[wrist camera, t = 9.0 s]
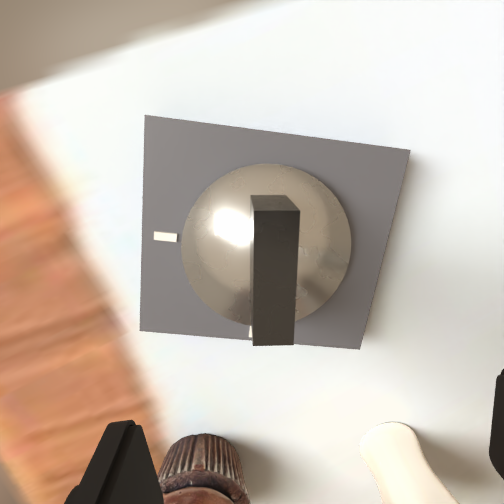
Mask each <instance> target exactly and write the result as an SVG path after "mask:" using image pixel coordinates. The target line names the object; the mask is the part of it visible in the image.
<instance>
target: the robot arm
mask: <svg viewBox="0 0 504 504" xmlns="http://www.w3.org/2000/svg"><path fill="white" fill-rule="evenodd" d="M489 456H490V460H491V462H492V464H493V466H494V468H495V469H496V471H497V472H498V473H499V474H500V476H501V477H502V478H503V480H504V369H503V370H502V372H501V375H498V377H497V379H496V388H495V398H494V408H493V418H492V427H491V437H490V447H489ZM64 504H164V498H163V494H162V491H161V487H160V484H159V481H158V478H157V474H156V471H155V468H154V465H153V461H152V458H151V455H150V452H149V448H148V445H147V442H146V439H145V435H144V432H143V429H142V427H141V425H136V424H135V422H134V421H133V420H127V421H119V422H112V423H110V424H108V426H107V427H106V429H105V431H104V433H103V436H102V438H101V440H100V442H99V444H98V446H97V448H96V450H95V452H94V455H93V457H92V459H91V461H90V463H89V465H88V467H87V469H86V471H85V474H84V476H83V478H82V480H81V482H80V484H79V485H77V486H76V487H75V488H74V489H72V491H71V492H70V494H69V495H68V497H67V499H66V501H65V503H64Z"/></svg>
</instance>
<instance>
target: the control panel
mask: <svg viewBox="0 0 504 504" xmlns="http://www.w3.org/2000/svg"><path fill="white" fill-rule="evenodd" d="M409 154H410V150H407V149H399V148H392V147H384V146H376V145H369V144H361V143H354V142H346V141H339V140H331V139H323V138H316V137H308V136H301V135H293V134H286V133H278V132H270V131H263V130H255V129H248V128H240V127H232V126H225V125H217V124H210V123H202V122H195V121H187V120H179V119H172V118H164V117H157V116H149V115H145V127H144V169H143V212H142V255H141V297H140V331H146V332H158V333H170V334H182V335H194V336H206V337H217V338H229V339H241V340H252V327H251V326H250V325H244V324H241V323H237V322H234V321H232V320H229V319H227V318H225V317H223V316H221V315H220V314H218V313H216V312H215V311H214V310H212V309H211V308H210V307H208V306H207V305H206V304H205V303H204V302H203V301H202V300H201V299H200V297H199V296H198V295H197V294H196V292H195V291H194V289H193V288H192V286H191V284H190V282H189V280H188V278H187V275H186V273H185V269H184V266H183V261H182V254H181V241H182V234H183V229H184V226H185V222H186V219H187V217H188V215H189V213H190V210H191V209H192V207H193V205H194V204H195V202H196V201H197V199H198V198H199V197H200V195H201V194H202V193H203V192H204V191H205V189H207V188H208V187H209V186H210V185H211V184H212V183H213V182H214V181H216V180H217V179H219V178H220V177H222V176H223V175H225V174H227V173H229V172H231V171H233V170H235V169H238V168H241V167H244V166H248V165H253V164H263V163H272V164H281V165H286V166H290V167H293V168H296V169H299V170H301V171H304V172H306V173H307V174H309V175H311V176H313V177H315V178H316V179H317V180H319V181H320V182H322V183H323V184H324V185H325V186H326V187H327V188H328V189H329V190H330V191H331V192H332V193H333V194H334V196H335V197H336V198H337V199H338V201H339V203H340V204H341V206H342V208H343V210H344V212H345V214H346V217H347V219H348V223H349V227H350V233H351V254H350V260H349V264H348V267H347V270H346V273H345V275H344V277H343V279H342V281H341V283H340V285H339V286H338V288H337V290H336V291H335V292H334V293H333V295H332V296H331V297H330V298H329V299H328V300H327V301H326V302H325V303H324V304H323V305H322V306H321V307H319V308H318V309H317V310H315V311H314V312H312V313H311V314H309V315H307V316H306V317H304V318H301V319H299V320H297V321H295V328H294V344H300V345H312V346H324V347H336V348H347V349H359V350H360V347H361V343H362V339H363V335H364V331H365V327H366V323H367V319H368V315H369V311H370V307H371V303H372V299H373V296H374V292H375V288H376V284H377V280H378V276H379V272H380V268H381V264H382V260H383V256H384V252H385V248H386V244H387V241H388V237H389V233H390V229H391V225H392V221H393V217H394V213H395V209H396V205H397V201H398V197H399V193H400V189H401V186H402V182H403V178H404V174H405V170H406V166H407V162H408V158H409Z"/></svg>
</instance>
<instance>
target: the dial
mask: <svg viewBox="0 0 504 504" xmlns="http://www.w3.org/2000/svg"><path fill="white" fill-rule="evenodd" d="M181 254H182V261H183V266H184V269H185V273H186V275H187V278H188V280H189V282H190V284H191V286H192V288H193V289H194V291H195V292H196V294H197V295H198V296H199V297H200V299H201V300H202V301H203V302H204V303H205V304H206V305H207V306H208V307H210V308H211V309H212V310H214V311H215V312H216V313H218V314H220V315H221V316H223V317H225V318H227V319H229V320H232V321H234V322H237V323H241V324H244V325H250V326H251V327H252V341H253V346H273V345H294V328H295V321H297V320H299V319H301V318H304V317H306V316H307V315H309V314H311V313H312V312H314V311H315V310H317V309H318V308H319V307H321V306H322V305H323V304H324V303H325V302H326V301H327V300H328V299H329V298H330V297H331V296H332V295H333V293H334V292H335V291H336V290H337V288H338V286H339V285H340V283H341V281H342V279H343V277H344V275H345V273H346V270H347V267H348V264H349V260H350V254H351V233H350V227H349V223H348V219H347V217H346V214H345V212H344V210H343V208H342V206H341V204H340V203H339V201H338V199H337V198H336V197H335V196H334V194H333V193H332V192H331V191H330V190H329V189H328V188H327V187H326V186H325V185H324V184H323V183H322V182H320V181H319V180H317V179H316V178H315V177H313V176H311V175H309V174H307V173H306V172H304V171H301V170H299V169H296V168H293V167H290V166H286V165H281V164H272V163H263V164H253V165H248V166H244V167H241V168H238V169H235V170H233V171H231V172H229V173H227V174H225V175H223V176H222V177H220V178H219V179H217V180H216V181H214V182H213V183H212V184H211V185H210V186H209V187H208V188H207V189H205V191H204V192H203V193H202V194H201V195H200V197H199V198H198V199H197V201H196V202H195V204H194V205H193V207H192V209H191V210H190V213H189V215H188V217H187V219H186V222H185V226H184V229H183V234H182V241H181Z"/></svg>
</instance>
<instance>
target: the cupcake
mask: <svg viewBox="0 0 504 504" xmlns="http://www.w3.org/2000/svg"><path fill="white" fill-rule="evenodd" d="M157 478H158V481H159V484H160V487H161V491H162V494H163V498H164V504H250V498H249V494H248V491H247V488H246V486H245V482H244V478H243V473H242V467H241V462H240V459H239V456H238V454H237V452H236V450H235V448H234V447H233V446H232V445H231V444H230V443H229V442H228V441H226V440H225V439H223V438H221V437H217V436H216V435H210V434H206V433H205V434H198V435H190V436H187V437H184V438H181V439H180V440H179V441H177V442H176V443H174V444H173V445H172V446H171V447H170V450H169V451H168V453H167V455H166V457H165V459H164V461H163V464H162V466H161V468H160V471H159V473H158V475H157Z"/></svg>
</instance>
